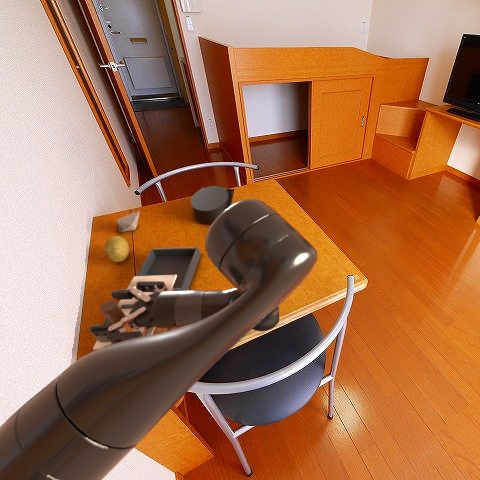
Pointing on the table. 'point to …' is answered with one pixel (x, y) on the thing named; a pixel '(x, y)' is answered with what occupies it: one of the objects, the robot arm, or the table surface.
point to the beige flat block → (168, 282)
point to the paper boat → (128, 222)
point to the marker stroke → (127, 306)
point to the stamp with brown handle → (112, 316)
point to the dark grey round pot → (211, 203)
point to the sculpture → (117, 249)
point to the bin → (172, 265)
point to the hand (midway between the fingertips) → (102, 312)
